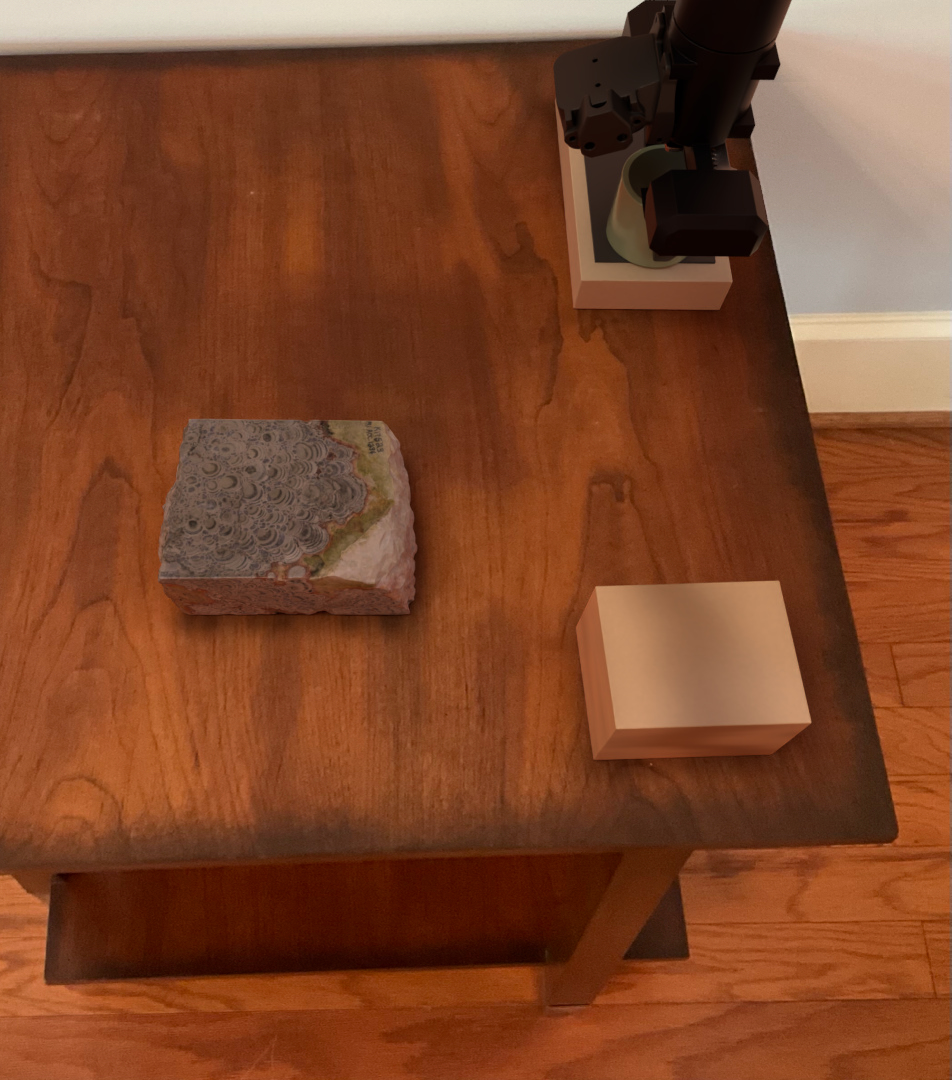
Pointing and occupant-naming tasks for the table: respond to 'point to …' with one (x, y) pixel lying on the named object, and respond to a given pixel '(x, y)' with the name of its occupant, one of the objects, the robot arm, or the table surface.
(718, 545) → the table surface
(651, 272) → the copier
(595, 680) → the riser
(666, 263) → the cup
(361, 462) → the geological specimen
